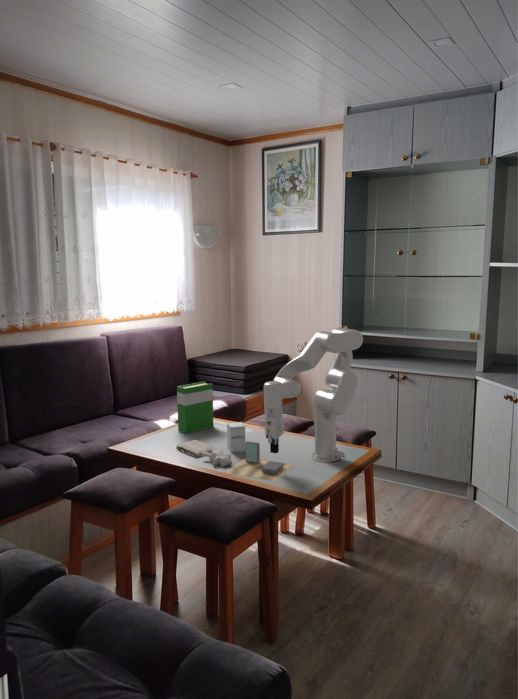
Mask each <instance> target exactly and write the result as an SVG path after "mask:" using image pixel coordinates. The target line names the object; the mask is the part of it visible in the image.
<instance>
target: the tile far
mask: <svg viewBox="0 0 518 699" xmlns="http://www.w3.org/2000/svg"><path fill="white" fill-rule="evenodd" d="M260 448H261V447H260V442H255V441H250V440H246V441H245V457H246V462H251V463H259V462H260V460H261V459H260V458H261V457H260V456H261V455H260V454H261V453H260Z"/></svg>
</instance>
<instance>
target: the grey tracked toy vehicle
mask: <svg viewBox="0 0 518 699" xmlns="http://www.w3.org/2000/svg"><path fill="white" fill-rule="evenodd" d="M175 448H176V449H177V450H178V449H180V450H183V451H184V452H186V453H185V454H187V453H189V454H191V455H193V456H195V457H194V458H199V456H200V457H203V456H202V452H207V453H210V454H211V452H212V451H211V450H212V449H216V448H215V447H213V446H210V445H209V444H207V443H204V442H202V441H200V440H197V439H192V440H190V441H186V442H185V441H184V442H181V443H178V444H176V447H175ZM180 450H179V451H180ZM184 452H183V453H184ZM189 454H188V455H189ZM191 455H190V456H191ZM193 456H192V457H193Z"/></svg>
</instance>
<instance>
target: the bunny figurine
mask: <svg viewBox="0 0 518 699" xmlns="http://www.w3.org/2000/svg"><path fill="white" fill-rule="evenodd" d="M211 451H212V452H211V453H207V452H202V456H201V457H208V458H209V461H210V463H212V465H213V466H214V465H215V466H220V467H222V468H223V467H228V466H230V465H232V463H233V462H232V460H231V456H232V455H231V454H227V453H224V452H223V451H222V450H220V449H218V450H217V449H216V448H215V449H212V450H211Z"/></svg>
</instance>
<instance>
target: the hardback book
mask: <svg viewBox="0 0 518 699" xmlns="http://www.w3.org/2000/svg"><path fill="white" fill-rule="evenodd" d="M213 388H214V386H213V383H207V382H206V381H200V382H193V383H190V384H189V383H188V384H183V385H177V386H176V399H177V400H176V401H177V427H178V428H177V430H178V432H180V433H183V434H191V433H194V432H200V431H202V430H206V429H210V428H214V396H213V395H214V392H213V391H214V390H213Z"/></svg>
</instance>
